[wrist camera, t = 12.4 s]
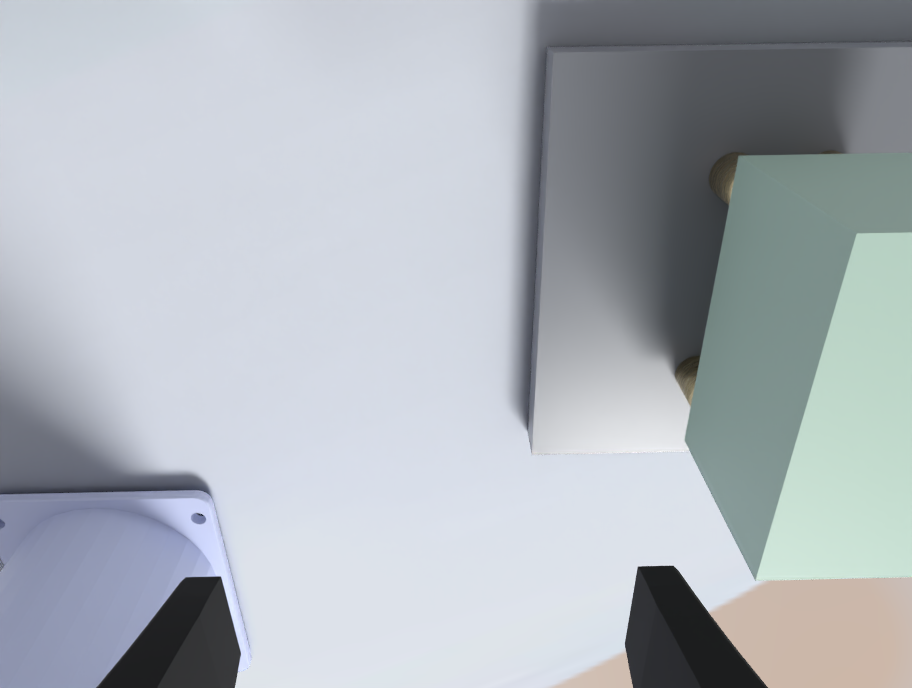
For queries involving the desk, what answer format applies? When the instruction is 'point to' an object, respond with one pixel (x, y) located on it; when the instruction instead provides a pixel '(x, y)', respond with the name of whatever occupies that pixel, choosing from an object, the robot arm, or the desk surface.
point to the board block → (812, 367)
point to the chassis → (669, 211)
